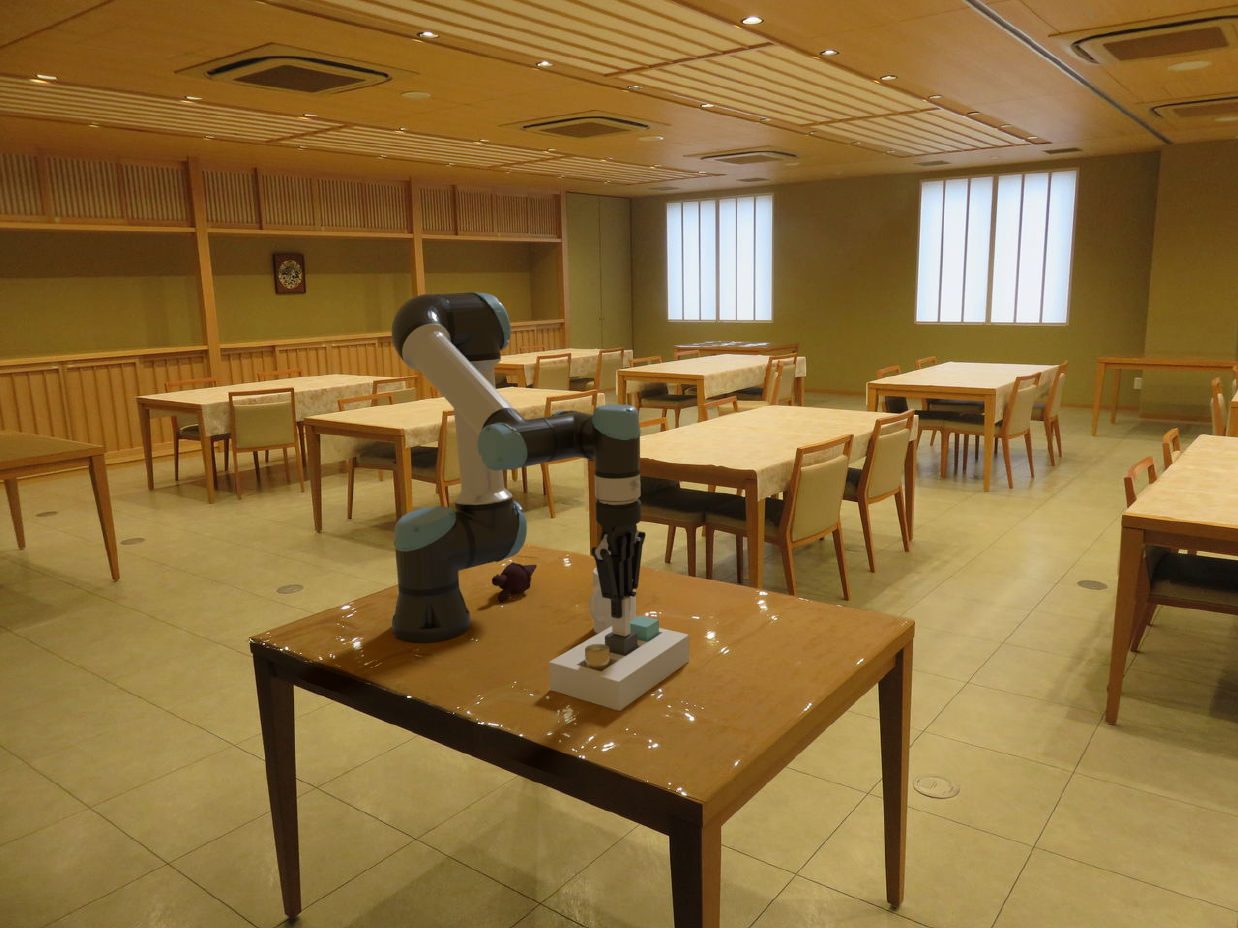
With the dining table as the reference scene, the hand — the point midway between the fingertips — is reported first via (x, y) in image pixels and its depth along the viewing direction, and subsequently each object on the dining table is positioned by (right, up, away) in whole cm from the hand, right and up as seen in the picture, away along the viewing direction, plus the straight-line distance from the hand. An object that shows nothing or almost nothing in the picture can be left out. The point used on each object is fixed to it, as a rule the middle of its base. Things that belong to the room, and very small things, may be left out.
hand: (621, 633), depth 154 cm
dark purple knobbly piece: (-23, +1, +44) cm, 49 cm away
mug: (-2, -4, +21) cm, 21 cm away
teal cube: (+4, -3, +7) cm, 8 cm away
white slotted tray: (0, -8, +2) cm, 8 cm away
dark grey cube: (0, -5, +1) cm, 5 cm away
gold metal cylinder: (-4, -6, -5) cm, 8 cm away
